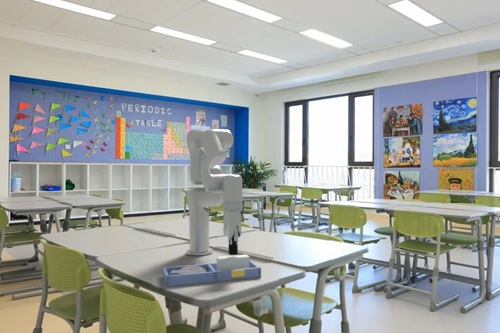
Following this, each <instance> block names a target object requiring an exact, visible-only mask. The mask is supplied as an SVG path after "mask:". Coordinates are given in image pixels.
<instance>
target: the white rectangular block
mask: <svg viewBox="0 0 500 333" xmlns="http://www.w3.org/2000/svg"><path fill="white" fill-rule="evenodd" d="M249 260H250V256H249V255H248V254H237V255H224V256H216V263H217V271H224V270H234V269H245V268H249Z"/></svg>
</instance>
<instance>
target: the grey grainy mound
mask: <svg viewBox="0 0 500 333" xmlns="http://www.w3.org/2000/svg"><path fill="white" fill-rule="evenodd" d="M187 265H188V266H186V265H185V266H186V267H183V268H182V269H180V270H172V271H171V272H170V275H181V274H191V273H202V272H206V270H205V269H204V268H202V267H200V266H197V264H187ZM170 275H169V276H170Z"/></svg>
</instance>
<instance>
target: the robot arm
mask: <svg viewBox="0 0 500 333" xmlns="http://www.w3.org/2000/svg"><path fill="white" fill-rule="evenodd" d="M185 140H186V147H187V150H188V154H189V176H190V177H189V178H190V182H191V183H192V185H195V186H203V187H193V188H191V189H189V190H188V191H187V193H186V199H187V205H188V217H189V219H188V220H189V221H188V224H189V226H188V227H189V230H188V231H189V234H188V235H189V239H188V240H189V241H188V242H189V249H187V250H186V251H185V252H186V253H185V254H187V255H189V256H198V257H199V256H207V255H210V254H212V253H213V249H212V248H210V216H209V214H208V212H207V211H206V210H205V208H212V207H220V206H221V205H222V212H223V228H222V229H223V235H225V237H227V238H228V255H229V256H234V255H239V249H238V248H239V247H238V244H239V238H240V237H241V236H242V216H241V212H242V211H243V178H242V175H240V174H234V173H224V172H223V170H222V168H221V167H220V166H219V165H221V164H222V163H224V162H225V161H226V158H227V153H226V150H225V149H230V148H231V147H232V146H233V145H234V136H233V134H232V132H231V131H230V130H229V129H216V128H209V129H207V128H195V129H190V130H189V131H188V132H187V134H186V139H185Z"/></svg>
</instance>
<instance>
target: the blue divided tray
mask: <svg viewBox="0 0 500 333" xmlns="http://www.w3.org/2000/svg"><path fill="white" fill-rule="evenodd" d="M188 265H189V264H187V265H176V266H166V267H165V266H164V267H162V279H163V280H164V284H165V286H166V287H177V286H186V285H195V284H196V285H197V284H204V283H205V284H206V283H214V282H215V283H216V282H225V281H235V280H236V281H237V280H244V279H255V278H262V268H261V266H259V265H258V264H256V263H255V262H254V261H252V260H251V259H249V268H245V269H234V270H224V271H217V262H213V263H212V262H210V263H198V264H196V265H197V266H200V267H202V268H204V269H205V270H206V272H202V273H191V274H181V275H170V272H171V271H172V270H180V269H182V268H183V267H186V266H188ZM169 275H170V276H169Z"/></svg>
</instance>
